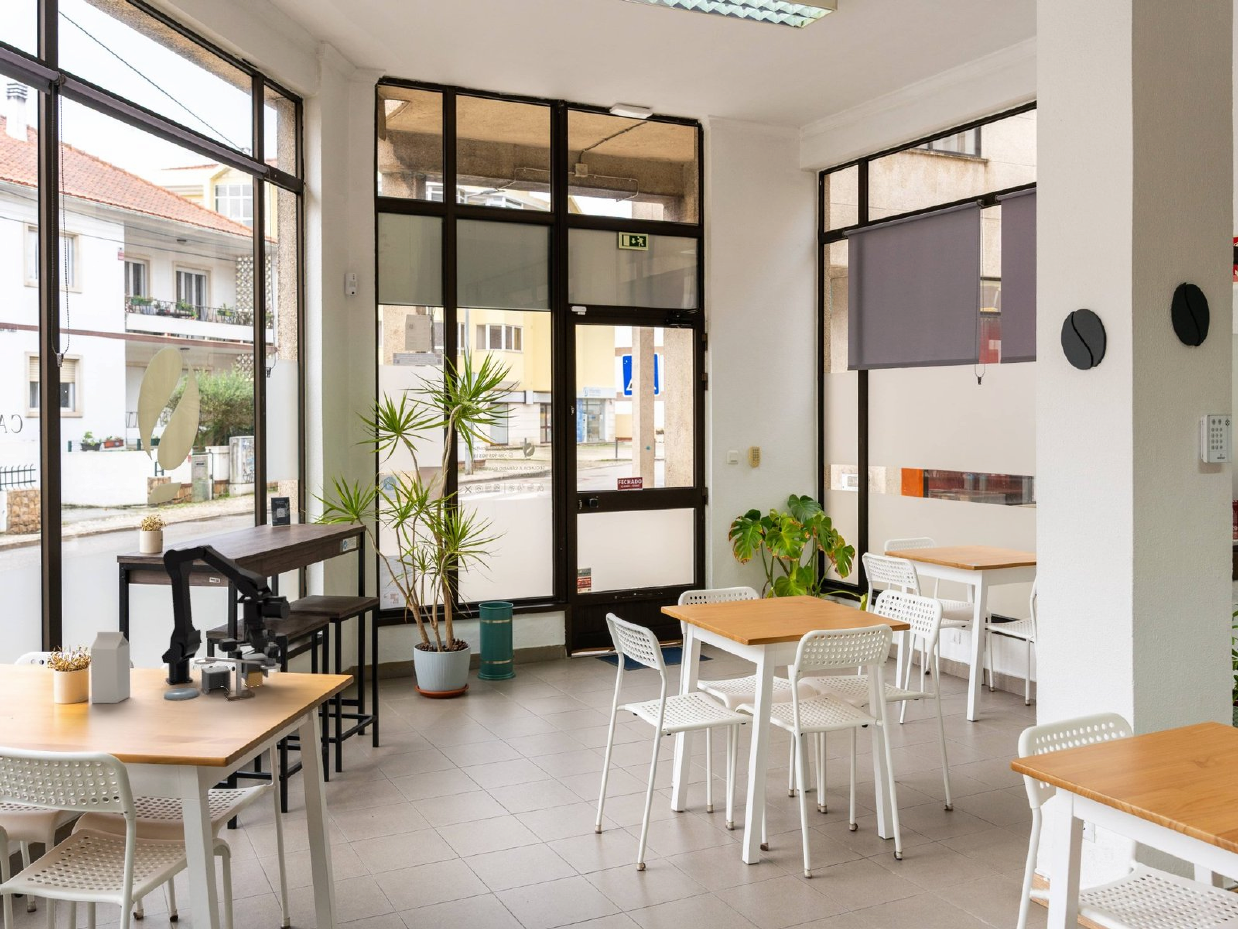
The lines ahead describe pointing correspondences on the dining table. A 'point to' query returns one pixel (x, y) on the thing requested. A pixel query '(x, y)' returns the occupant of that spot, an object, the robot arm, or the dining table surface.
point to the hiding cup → (254, 666)
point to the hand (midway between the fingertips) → (253, 671)
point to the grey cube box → (216, 678)
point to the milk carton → (110, 668)
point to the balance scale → (240, 674)
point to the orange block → (254, 678)
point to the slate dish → (181, 693)
